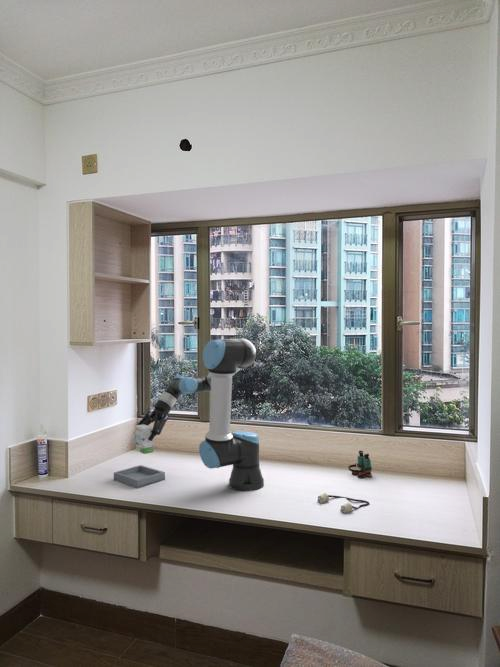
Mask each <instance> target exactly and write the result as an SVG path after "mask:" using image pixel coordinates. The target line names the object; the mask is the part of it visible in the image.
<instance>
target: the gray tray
mask: <svg viewBox="0 0 500 667" xmlns="http://www.w3.org/2000/svg"><path fill="white" fill-rule="evenodd" d="M113 481H116V482H117V483H121V484H124V485H127V486H129V487H132V488H136V489H140V488H143V487H146V486H150V485H153V484H156V483H159V482H162V481H166V472H165V471H162V470H159V469H155V468H151V467H148V466H146V465H141V464H140V465H136V466H132V467H128V468H124V469H121V470H118V471H114V472H113Z"/></svg>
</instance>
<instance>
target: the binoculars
mask: <svg viewBox="0 0 500 667" xmlns="http://www.w3.org/2000/svg"><path fill="white" fill-rule="evenodd" d="M358 454H359V455H357V462H355V464H351V465H348V467H347V468H348V470H349V471H350V472H351V475H352V476H357V478H359V479H360V478H364V477H365V476H366V477H373V473H372V469H373V468H372V463H371V459H370V457H369V456H370V454H369V453H364V451H363V450H359V451H358ZM353 468H356V469H353ZM357 468H358V469H357Z"/></svg>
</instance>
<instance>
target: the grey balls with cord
mask: <svg viewBox="0 0 500 667" xmlns="http://www.w3.org/2000/svg"><path fill="white" fill-rule="evenodd" d="M329 498H337V499H339V498H340V499H346V500H348V501H353V502H359V503H363V504H360V505H359V506H358V507H356V506H354V505H352V504H351V503H350V502H347V503H345V504H343V505H341V506H340V509H339V510H340V512H341V513H345V514H348V513H350V512H352V511H353V509H354V510H359V509H361V508H362V507H366V506H369V505H370V502H369V501H367V500H364V499H355V498H351V497H347V496H346V497H345V496H340V495H331V494H328V493H326V492H324V493H322V494H319V495H318V496H317V502H319V503H322V504H325V503H326V502H327V501H328V502H329ZM364 503H365V504H364Z"/></svg>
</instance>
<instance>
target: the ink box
mask: <svg viewBox="0 0 500 667" xmlns="http://www.w3.org/2000/svg"><path fill="white" fill-rule="evenodd" d="M134 429H135V430H134V431H135V432H134V433H135V434H136V442H135V450H136V451H137V452H138V453H141V454H144V455H146V454H151V453H154V439H153V440H152V441H151V442H150V443H149V445H148V446H147V448H145V447H144V446H143V445H142V443H143V442H144V440H145V439H146V437H147V436H148V434H149V433H150V432H151V431H152V429H153V426H149V425H148V426H147V425H145V424H143V425H137V424H136V425H135V426H134ZM151 433H152V432H151Z"/></svg>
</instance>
